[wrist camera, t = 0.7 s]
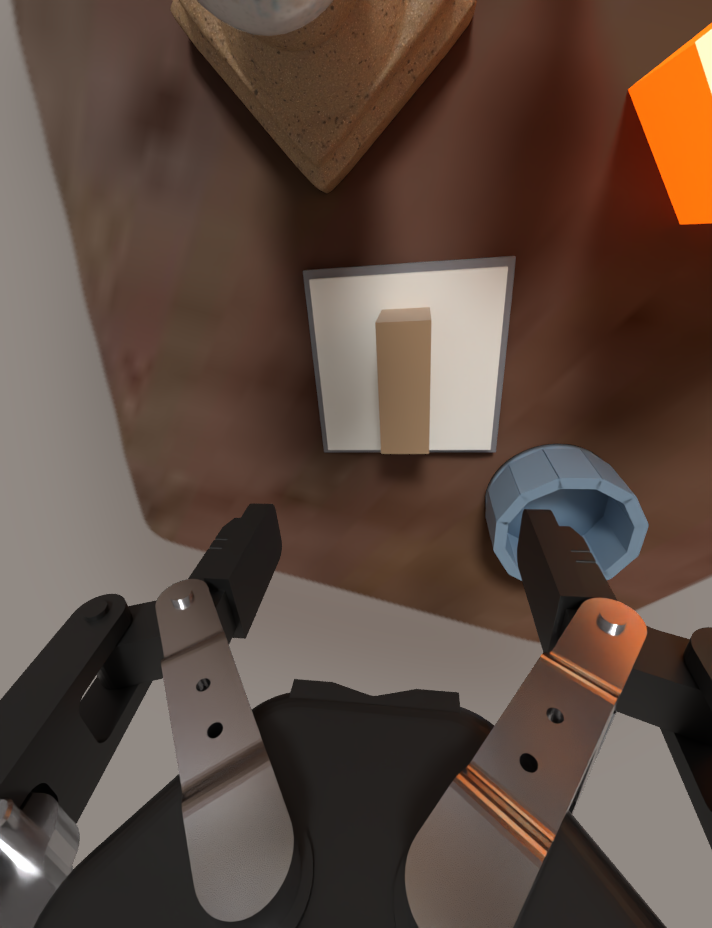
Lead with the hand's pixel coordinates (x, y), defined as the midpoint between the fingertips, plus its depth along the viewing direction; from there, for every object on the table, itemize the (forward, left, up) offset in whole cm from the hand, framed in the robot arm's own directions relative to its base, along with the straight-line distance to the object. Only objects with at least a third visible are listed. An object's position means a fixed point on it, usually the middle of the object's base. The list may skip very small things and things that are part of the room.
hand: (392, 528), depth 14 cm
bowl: (-11, +11, -18) cm, 24 cm away
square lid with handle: (0, 0, -18) cm, 18 cm away
